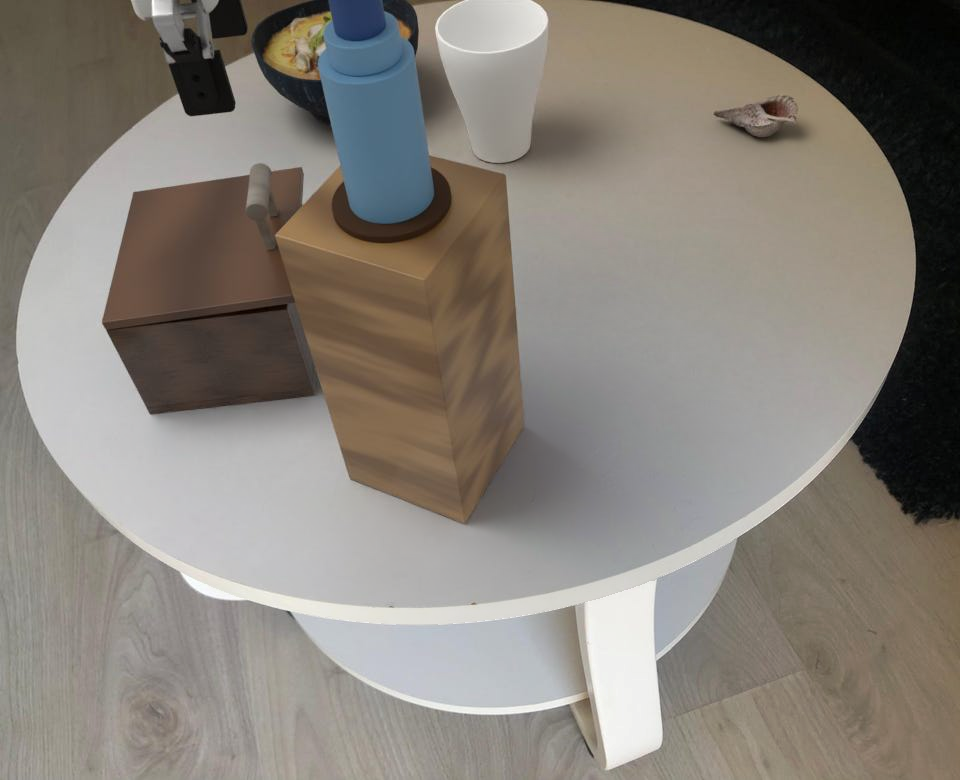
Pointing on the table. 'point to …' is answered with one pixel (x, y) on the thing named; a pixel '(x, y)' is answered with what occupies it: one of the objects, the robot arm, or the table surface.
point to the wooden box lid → (204, 249)
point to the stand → (415, 341)
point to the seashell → (763, 115)
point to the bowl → (310, 49)
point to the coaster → (396, 230)
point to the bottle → (375, 112)
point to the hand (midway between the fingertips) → (219, 71)
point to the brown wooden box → (218, 359)
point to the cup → (495, 71)
